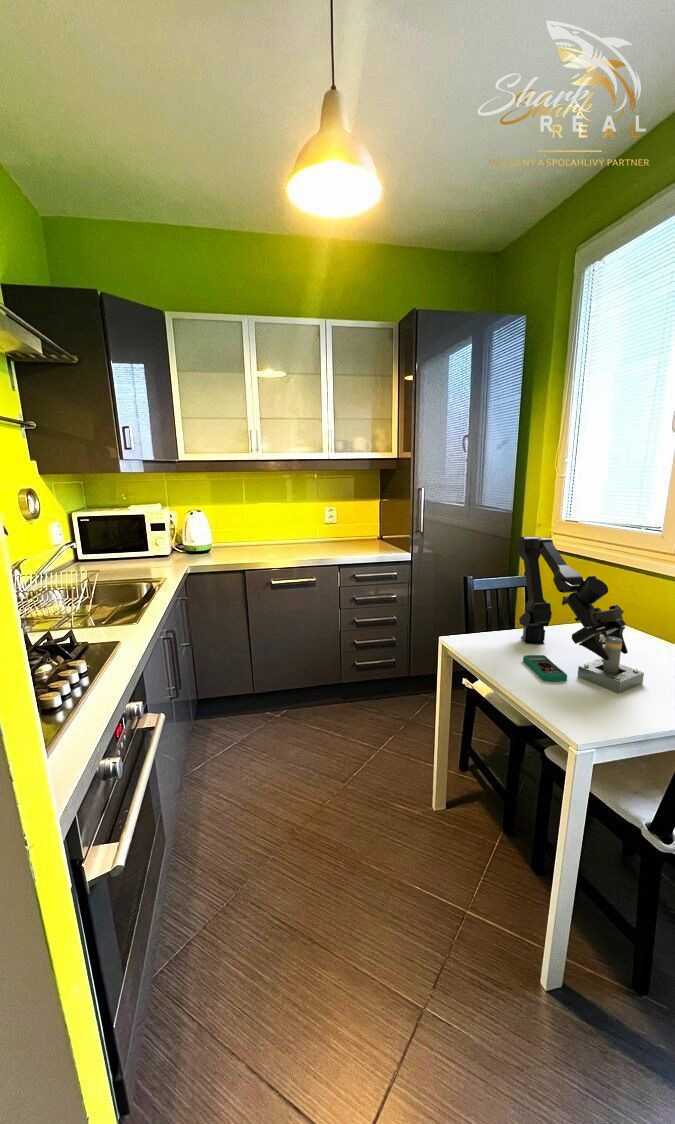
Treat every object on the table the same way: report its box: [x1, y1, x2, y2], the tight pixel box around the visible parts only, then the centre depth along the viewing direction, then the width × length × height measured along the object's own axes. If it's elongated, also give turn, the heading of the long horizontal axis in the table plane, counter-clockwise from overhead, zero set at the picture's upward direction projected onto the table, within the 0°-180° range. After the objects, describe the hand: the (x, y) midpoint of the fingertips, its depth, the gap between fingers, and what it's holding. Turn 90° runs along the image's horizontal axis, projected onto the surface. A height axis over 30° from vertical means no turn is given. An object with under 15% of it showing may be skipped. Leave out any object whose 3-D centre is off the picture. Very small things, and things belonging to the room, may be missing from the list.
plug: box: [602, 636, 622, 675], centre depth 125 cm, size 4×4×13 cm
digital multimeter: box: [522, 654, 568, 683], centre depth 132 cm, size 7×15×3 cm, turn 0°
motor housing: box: [577, 657, 645, 694], centre depth 125 cm, size 12×12×4 cm
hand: (617, 656), depth 123 cm, fingers open, 9 cm apart
